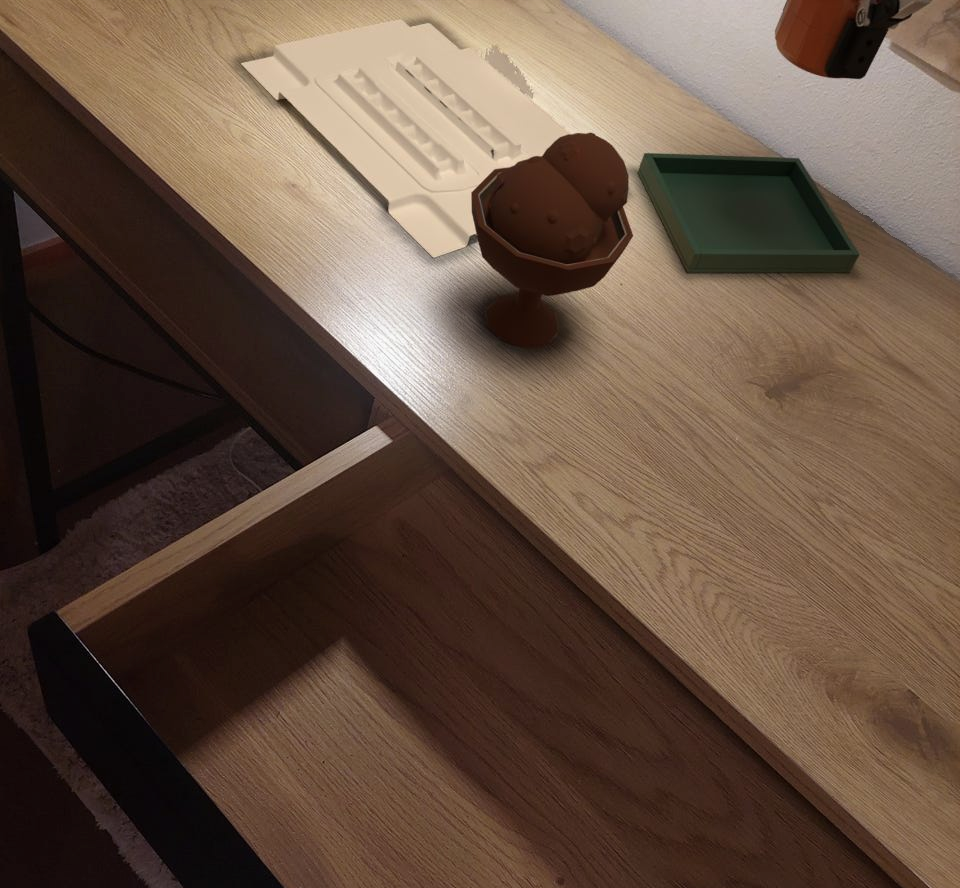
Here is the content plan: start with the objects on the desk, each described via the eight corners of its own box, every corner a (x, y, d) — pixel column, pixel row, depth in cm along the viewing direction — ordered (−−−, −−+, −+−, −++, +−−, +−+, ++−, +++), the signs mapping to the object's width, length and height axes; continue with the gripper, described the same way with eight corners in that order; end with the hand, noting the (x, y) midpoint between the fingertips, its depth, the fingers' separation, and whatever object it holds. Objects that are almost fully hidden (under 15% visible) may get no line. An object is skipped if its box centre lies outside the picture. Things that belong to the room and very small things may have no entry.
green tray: (790, 176, 97) (799, 157, 96) (849, 272, 90) (860, 254, 88) (637, 171, 93) (644, 152, 91) (686, 272, 86) (695, 253, 84)
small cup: (838, 31, 82) (872, -42, 78) (876, 83, 78) (915, 9, 74) (758, 25, 80) (788, -51, 76) (793, 78, 76) (828, 2, 72)
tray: (434, 259, 81) (441, 216, 78) (238, 75, 92) (238, 32, 89) (624, 191, 91) (636, 152, 88) (426, 33, 102) (431, -7, 99)
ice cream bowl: (518, 254, 83) (566, 72, 71) (622, 338, 79) (692, 162, 68) (418, 304, 77) (452, 115, 66) (526, 397, 74) (583, 216, 62)
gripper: (1075, -165, 61) (916, 117, 75) (937, -283, 70) (818, -12, 85) (967, -181, 59) (824, 112, 73) (840, -300, 68) (734, -20, 82)
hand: (822, 44), depth 79 cm, fingers closed on small cup, 7 cm apart
